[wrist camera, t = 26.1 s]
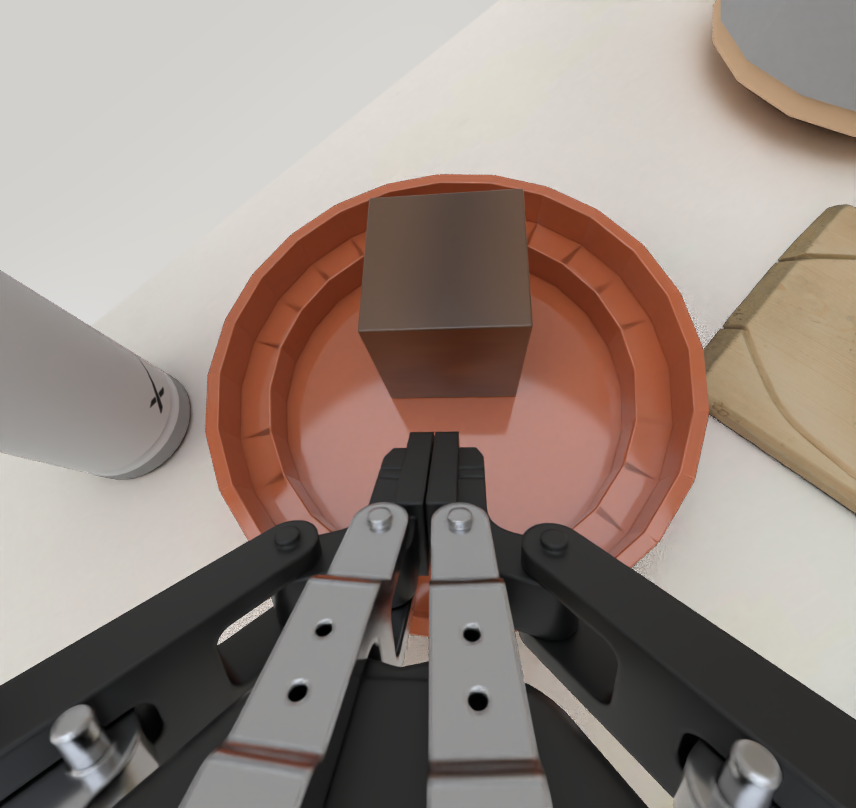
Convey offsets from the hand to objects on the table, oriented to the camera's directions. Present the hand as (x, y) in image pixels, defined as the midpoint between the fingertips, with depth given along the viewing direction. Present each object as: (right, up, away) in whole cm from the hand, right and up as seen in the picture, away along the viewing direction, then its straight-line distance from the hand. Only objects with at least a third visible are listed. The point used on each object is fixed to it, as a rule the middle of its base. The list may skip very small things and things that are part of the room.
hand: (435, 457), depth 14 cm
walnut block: (+1, +5, +10) cm, 11 cm away
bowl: (+1, +2, +9) cm, 10 cm away
